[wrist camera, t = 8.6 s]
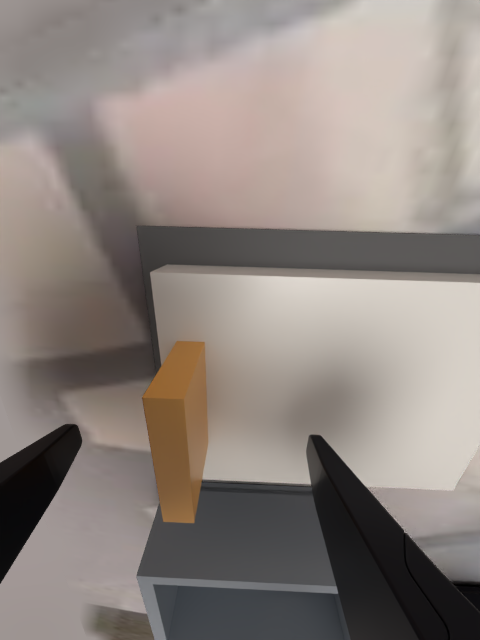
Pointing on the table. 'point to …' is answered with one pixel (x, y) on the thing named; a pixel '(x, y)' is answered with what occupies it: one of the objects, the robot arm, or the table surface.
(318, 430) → the lid
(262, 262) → the mat
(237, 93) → the table surface
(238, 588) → the parts tub
